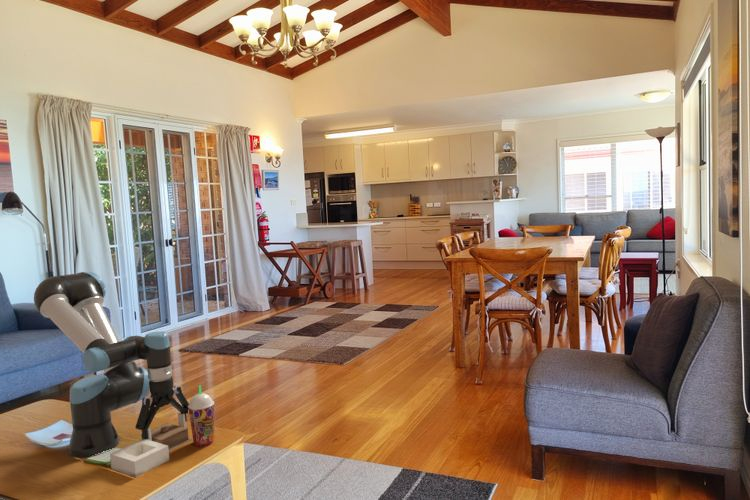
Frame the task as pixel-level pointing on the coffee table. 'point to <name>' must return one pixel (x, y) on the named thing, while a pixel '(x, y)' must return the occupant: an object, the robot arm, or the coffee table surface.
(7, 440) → the coffee table surface
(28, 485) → the coffee table surface
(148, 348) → the robot arm
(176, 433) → the lid
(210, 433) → the smoothie
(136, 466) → the dish
